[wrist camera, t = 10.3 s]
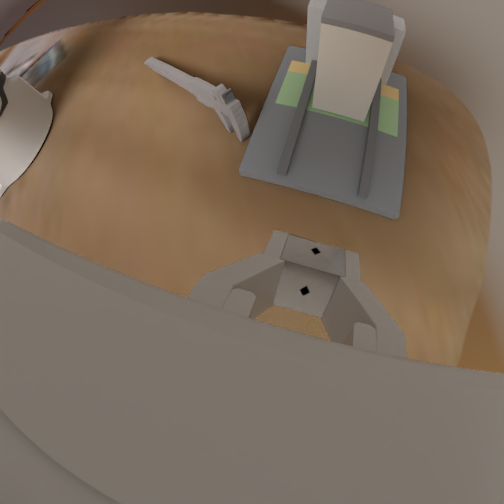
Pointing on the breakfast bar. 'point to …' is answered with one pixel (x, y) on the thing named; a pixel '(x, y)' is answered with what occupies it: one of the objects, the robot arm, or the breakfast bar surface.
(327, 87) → the cream rectangular box
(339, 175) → the grey holder
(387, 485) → the robot arm
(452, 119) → the breakfast bar surface
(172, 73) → the caliper
